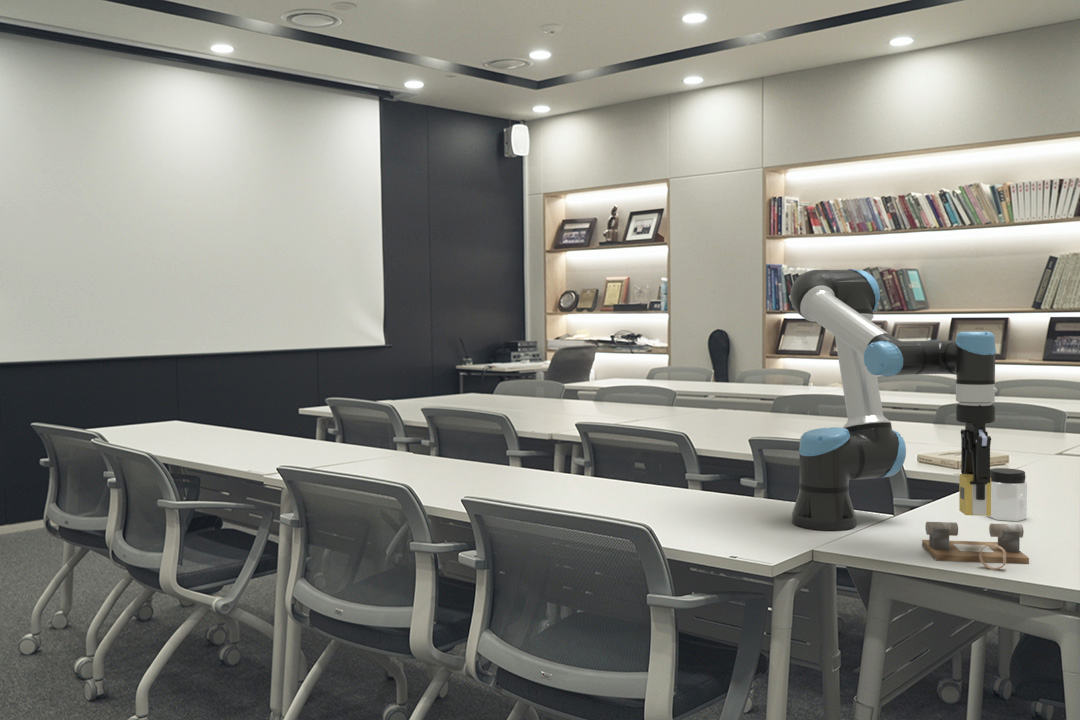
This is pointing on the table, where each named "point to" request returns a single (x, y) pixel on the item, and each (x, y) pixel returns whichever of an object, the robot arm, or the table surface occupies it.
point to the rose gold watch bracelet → (986, 564)
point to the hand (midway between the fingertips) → (975, 511)
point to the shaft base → (974, 544)
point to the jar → (1008, 494)
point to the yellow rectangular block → (966, 495)
